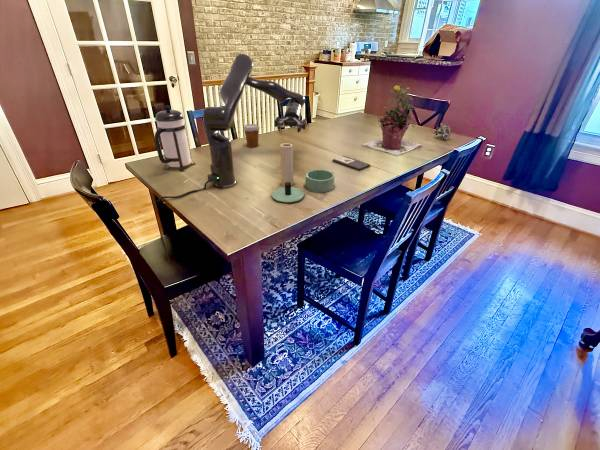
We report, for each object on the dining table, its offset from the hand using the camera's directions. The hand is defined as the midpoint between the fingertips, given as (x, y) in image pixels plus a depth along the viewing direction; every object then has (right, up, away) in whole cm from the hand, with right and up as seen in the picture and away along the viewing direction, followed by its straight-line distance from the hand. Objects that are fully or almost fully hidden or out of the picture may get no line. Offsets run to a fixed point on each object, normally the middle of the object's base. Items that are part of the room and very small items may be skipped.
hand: (288, 129), depth 135 cm
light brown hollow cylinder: (-1, -24, +4) cm, 24 cm away
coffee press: (-57, -13, +21) cm, 62 cm away
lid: (0, -30, -7) cm, 30 cm away
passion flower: (+98, +15, +66) cm, 119 cm away
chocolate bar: (+32, -10, +26) cm, 42 cm away
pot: (+14, -25, +2) cm, 29 cm away
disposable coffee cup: (-24, +6, +52) cm, 58 cm away
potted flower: (+62, +6, +53) cm, 81 cm away
